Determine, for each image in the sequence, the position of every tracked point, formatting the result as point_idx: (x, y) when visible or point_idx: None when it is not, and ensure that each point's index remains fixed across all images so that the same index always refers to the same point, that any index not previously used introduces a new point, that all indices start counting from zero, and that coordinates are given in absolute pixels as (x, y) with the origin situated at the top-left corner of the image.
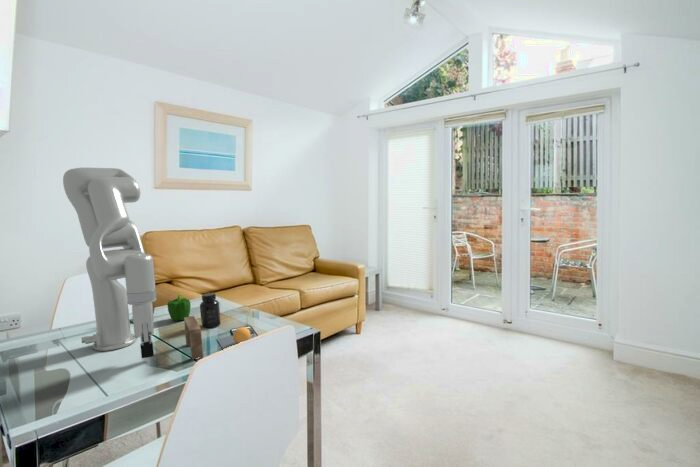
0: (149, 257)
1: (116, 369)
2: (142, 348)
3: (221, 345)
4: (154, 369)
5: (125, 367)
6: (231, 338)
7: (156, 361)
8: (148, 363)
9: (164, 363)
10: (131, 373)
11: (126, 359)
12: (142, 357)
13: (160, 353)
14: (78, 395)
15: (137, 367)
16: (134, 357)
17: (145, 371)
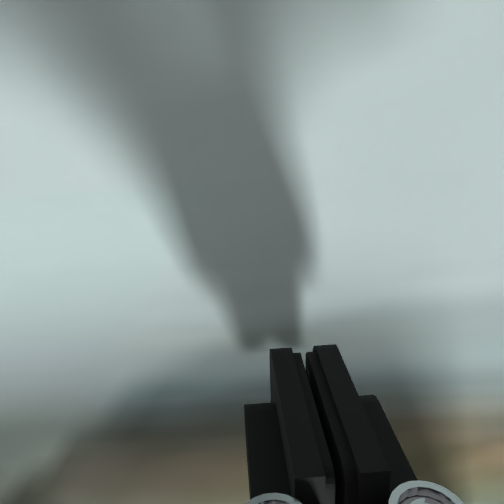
0: None
1: (237, 49)
2: (285, 451)
3: None
4: (34, 417)
5: (243, 152)
6: None
7: (234, 425)
8: (224, 365)
9: (144, 482)
10: (22, 226)
11: (500, 148)
12: (270, 356)
13: (423, 446)
14: None
15: (170, 275)
16: (497, 230)
17: (18, 350)
